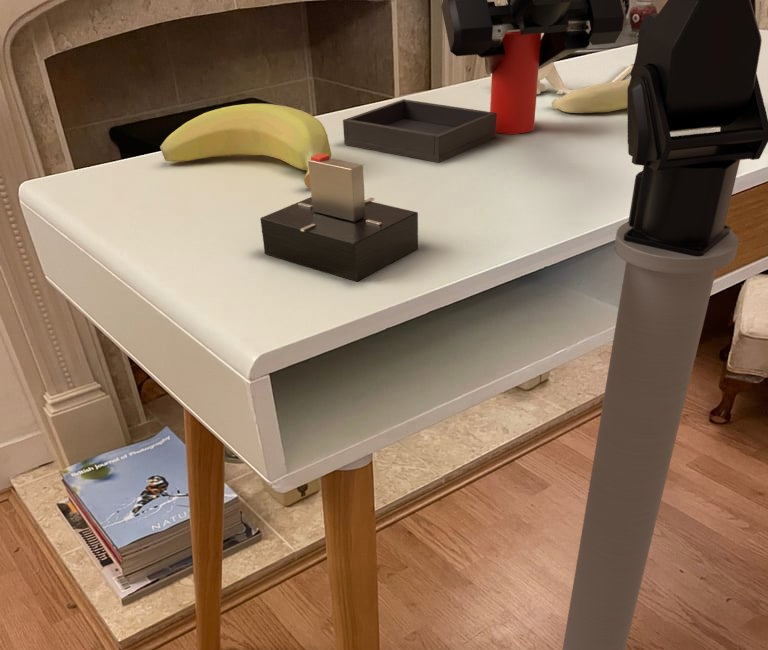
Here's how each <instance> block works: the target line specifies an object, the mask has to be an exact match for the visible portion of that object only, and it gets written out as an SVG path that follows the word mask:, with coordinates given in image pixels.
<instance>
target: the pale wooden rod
mask: <svg viewBox="0 0 768 650" xmlns="http://www.w3.org/2000/svg"><path fill="white" fill-rule="evenodd" d="M633 65H634V63H631V64H630V65H629V66H628V67H627V68H626V69H624V70H622V72H621V73H619V74H618V75H617V76H616V77H615V78H614V79H612V80H611V81H610V82H615V81H621V80H624V79H625V78H626V77H627V76H628V75H629V74H631V70H632V68H633Z"/></svg>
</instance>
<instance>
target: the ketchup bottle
mask: <svg viewBox="0 0 768 650" xmlns="http://www.w3.org/2000/svg"><path fill="white" fill-rule="evenodd" d="M540 44H541V33H538V34H526V35H521V32H508V33H506V34H505V36H504V38H503V45H504V49H505V56H504V57H503V59H502V60H501V61H500V63H499V64H498V66H497V67H496V69H495V70H494V71H493V72H492V78H491V82H490V103H489V104H490V107H489V112H493V113H497V118H496V134H503V135H518V134H520V135H521V134H526V133H530V132H532V131H533V130H534V129H535V122H536V121H535V119H536V107H537V96H538V94H537V83H538V70H539V57H540Z"/></svg>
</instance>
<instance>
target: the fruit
mask: <svg viewBox="0 0 768 650" xmlns="http://www.w3.org/2000/svg"><path fill="white" fill-rule="evenodd" d="M630 79H631V77H630V78H626V79H622V80H621V81H615V82H611V81H609V82H605V83H599V84H595V85H594V84H593V85H590V86H585V87H581V88H578V89H575V90H573V91H572V92H570V93H568V94H565V95H563V96H562V97H560V98H554V99H553V100H552V101H551V107H552V108H555V109H558V110H560V111H561V112H564V113H571V114H596V113H612V112H614V111H621V110H626V109H628V107H627V90H628V86H629V83H630Z"/></svg>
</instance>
